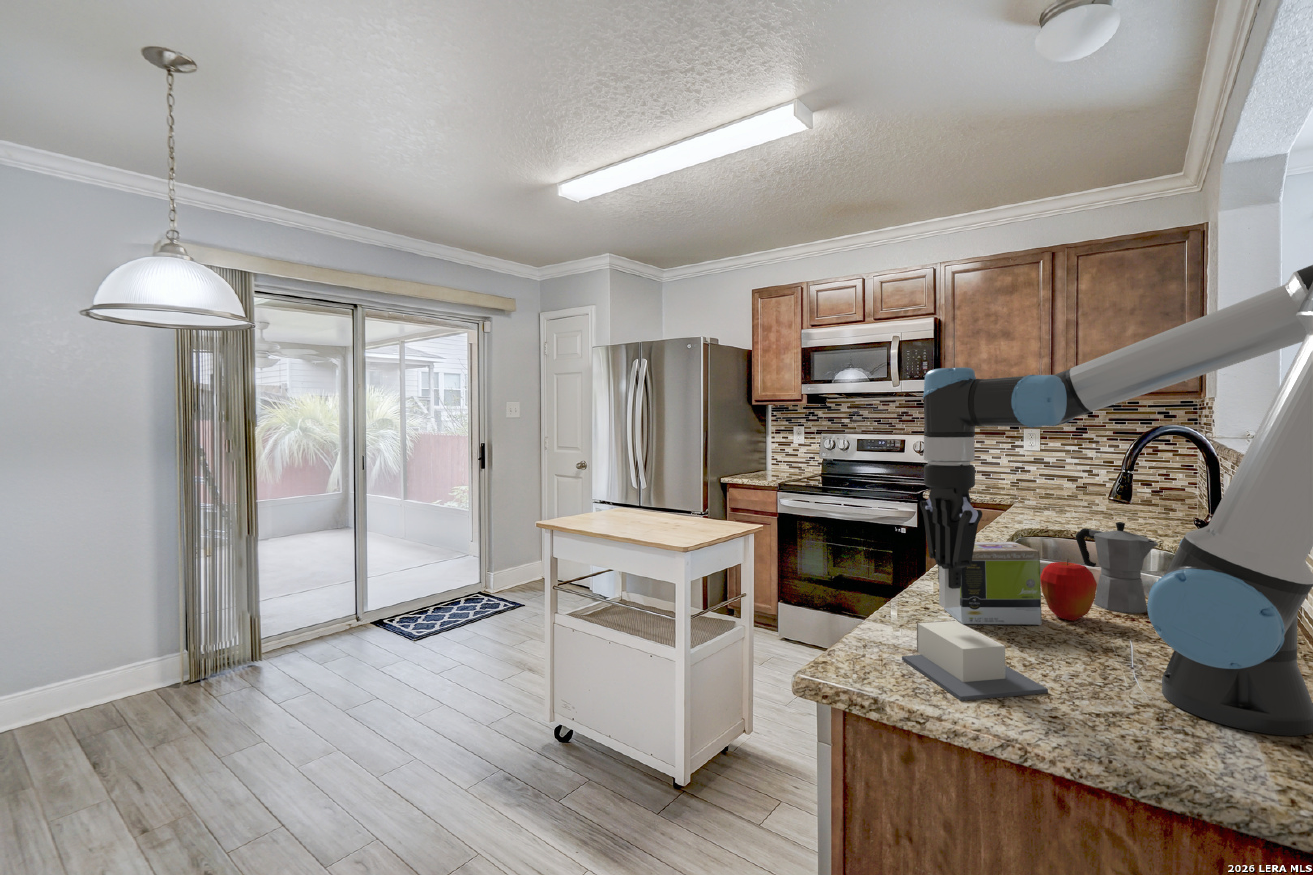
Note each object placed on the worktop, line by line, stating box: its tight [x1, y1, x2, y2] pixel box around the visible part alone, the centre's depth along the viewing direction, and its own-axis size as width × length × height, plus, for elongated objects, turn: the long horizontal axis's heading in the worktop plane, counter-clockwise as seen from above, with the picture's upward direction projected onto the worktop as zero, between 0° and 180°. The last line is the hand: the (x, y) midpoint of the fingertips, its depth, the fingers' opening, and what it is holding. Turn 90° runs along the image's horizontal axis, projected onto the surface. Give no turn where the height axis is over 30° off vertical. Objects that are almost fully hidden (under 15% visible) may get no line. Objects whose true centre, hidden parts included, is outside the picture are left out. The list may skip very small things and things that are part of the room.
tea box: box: [943, 541, 1043, 626], centre depth 120 cm, size 15×10×15 cm, turn 84°
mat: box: [901, 654, 1049, 702], centre depth 93 cm, size 15×14×1 cm
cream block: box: [916, 619, 1006, 682], centre depth 96 cm, size 5×7×12 cm
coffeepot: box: [1075, 521, 1159, 614], centre depth 126 cm, size 15×9×18 cm, turn 25°
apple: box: [1040, 559, 1098, 621], centre depth 119 cm, size 9×9×12 cm
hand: (949, 605), depth 98 cm, fingers closed
